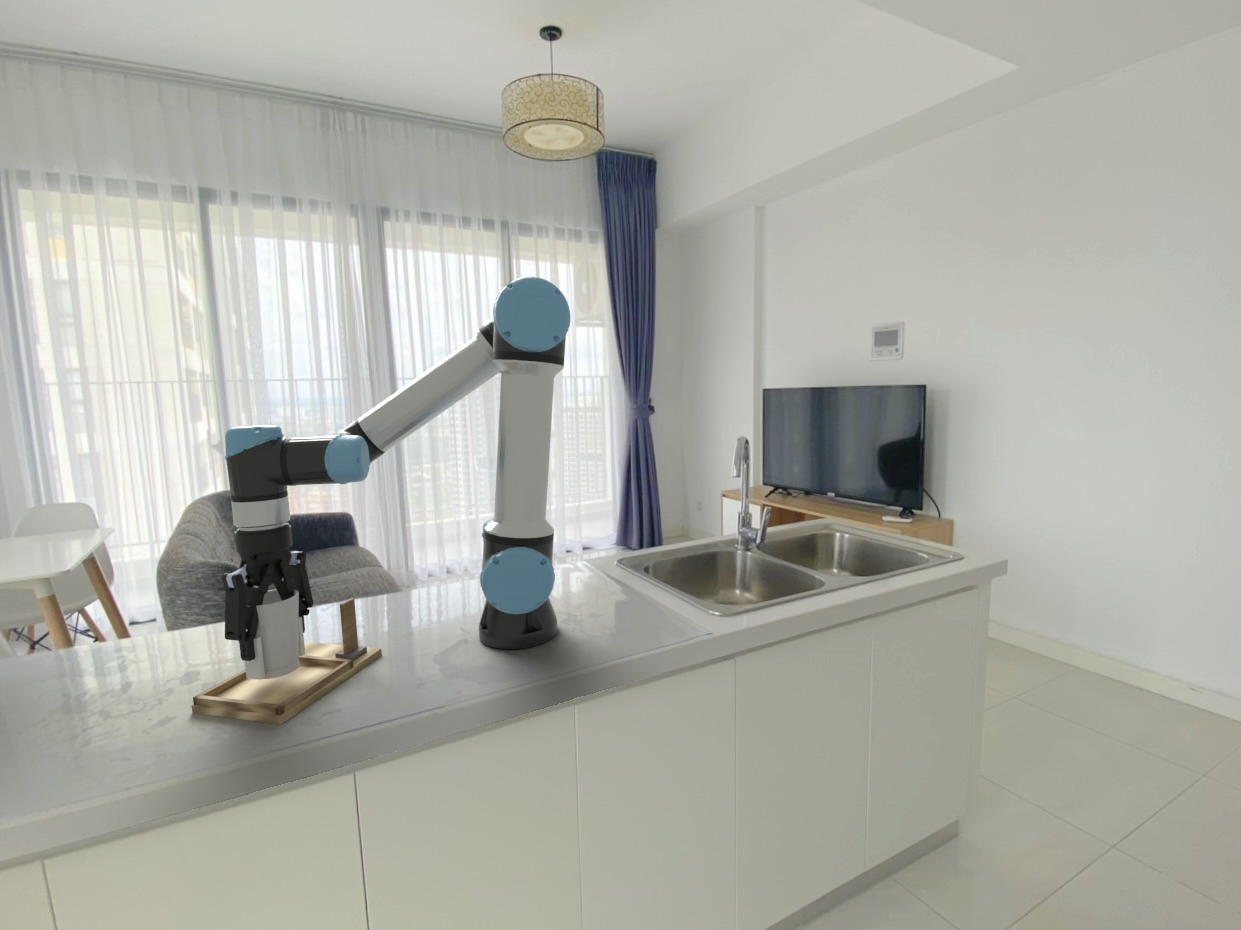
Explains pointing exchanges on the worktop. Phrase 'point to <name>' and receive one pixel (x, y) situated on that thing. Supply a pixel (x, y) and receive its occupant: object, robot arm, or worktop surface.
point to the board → (290, 680)
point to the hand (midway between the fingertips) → (277, 665)
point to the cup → (279, 633)
